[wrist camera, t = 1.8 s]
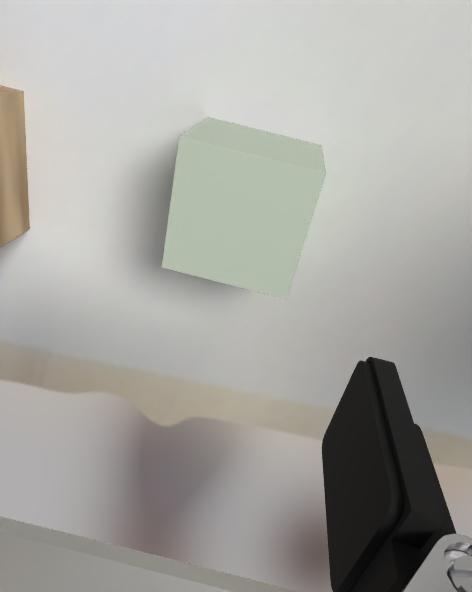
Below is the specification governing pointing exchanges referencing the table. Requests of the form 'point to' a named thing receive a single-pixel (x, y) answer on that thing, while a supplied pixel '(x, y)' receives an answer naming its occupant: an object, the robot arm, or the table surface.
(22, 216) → the oak slab
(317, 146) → the sage cube
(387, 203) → the table surface
